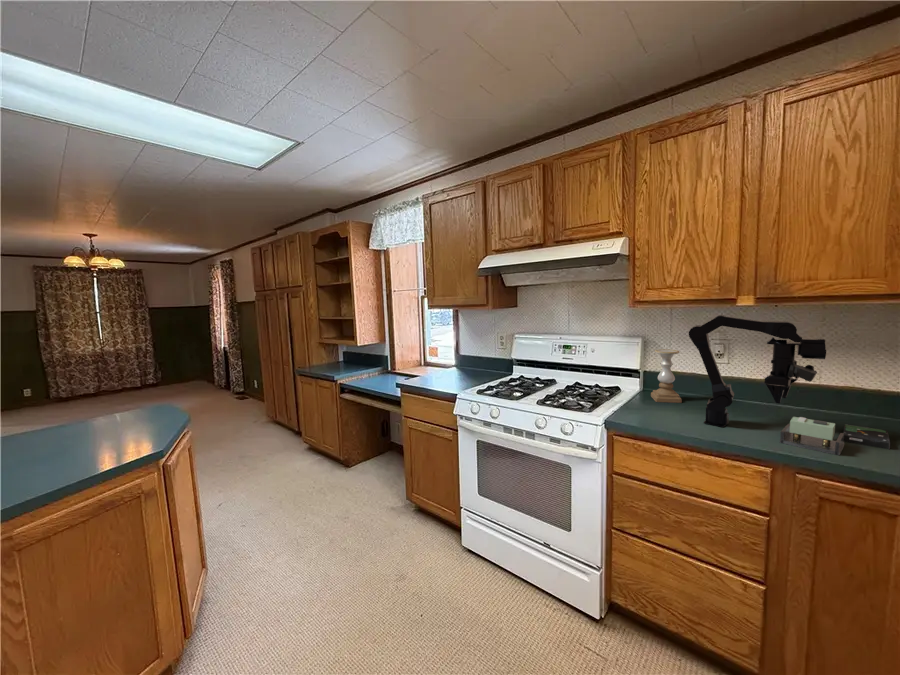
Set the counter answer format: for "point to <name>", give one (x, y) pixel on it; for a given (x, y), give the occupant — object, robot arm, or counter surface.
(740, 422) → the counter surface
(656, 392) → the candle holder
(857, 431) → the disk drive
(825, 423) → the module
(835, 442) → the chassis
